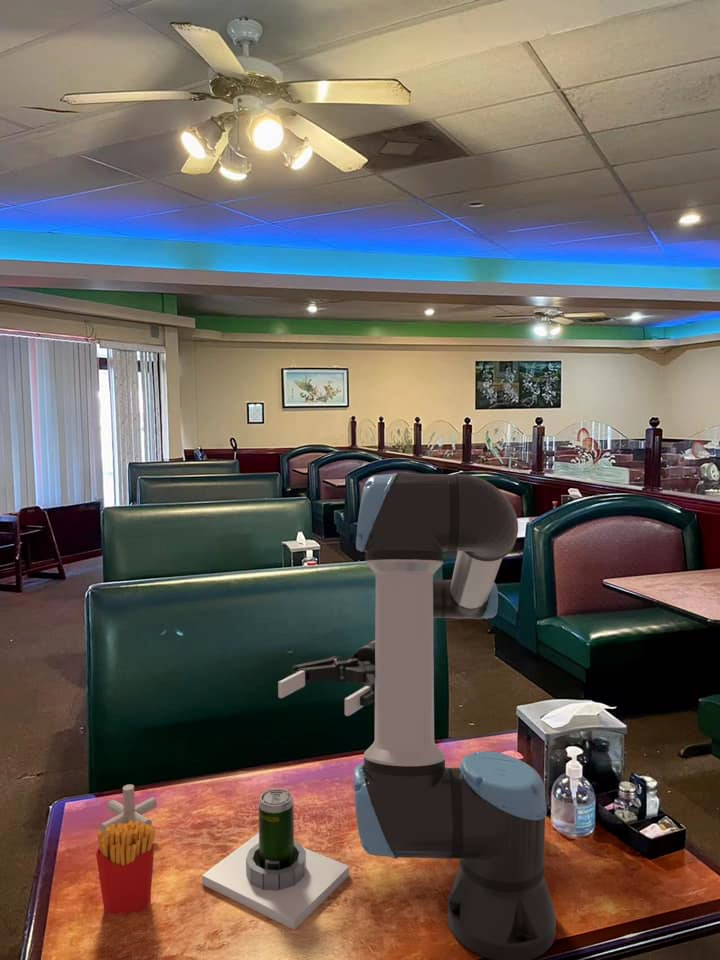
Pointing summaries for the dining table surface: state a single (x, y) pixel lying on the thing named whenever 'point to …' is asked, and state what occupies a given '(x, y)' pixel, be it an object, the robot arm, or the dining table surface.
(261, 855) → the beer can
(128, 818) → the pipe connector
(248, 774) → the dining table surface
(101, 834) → the french fries
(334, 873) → the holder
